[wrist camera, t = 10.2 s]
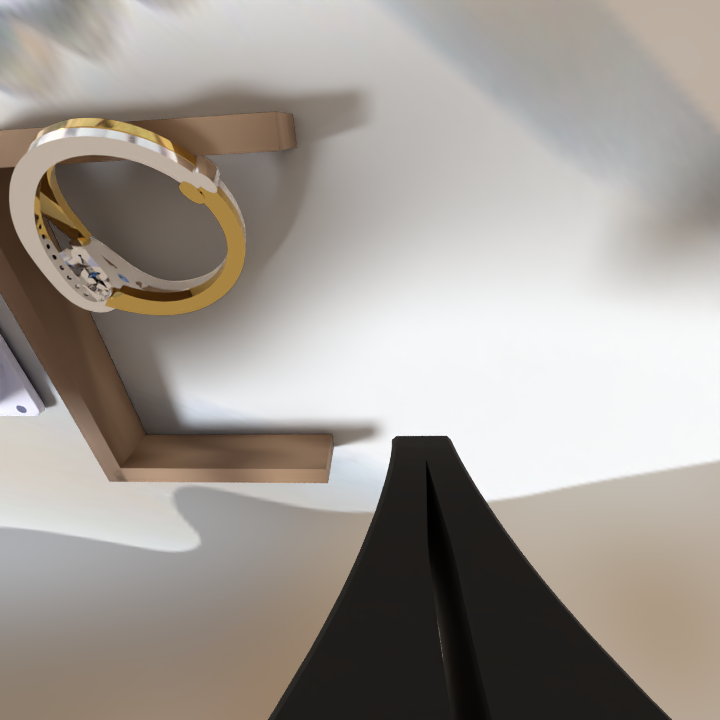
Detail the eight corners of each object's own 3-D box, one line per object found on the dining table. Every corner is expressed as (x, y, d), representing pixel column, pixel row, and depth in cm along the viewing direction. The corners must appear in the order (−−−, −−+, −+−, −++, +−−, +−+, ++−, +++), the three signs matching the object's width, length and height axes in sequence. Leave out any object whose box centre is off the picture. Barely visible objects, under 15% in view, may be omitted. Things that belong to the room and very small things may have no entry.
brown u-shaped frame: (135, 447, 22) (109, 481, 20) (-19, 135, 14) (-90, 136, 12) (333, 447, 21) (328, 483, 19) (292, 113, 13) (274, 111, 11)
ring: (289, 270, 13) (157, 350, 17) (290, 211, 15) (169, 295, 19) (67, 96, 8) (-53, 263, 12) (105, 34, 10) (-12, 197, 14)
